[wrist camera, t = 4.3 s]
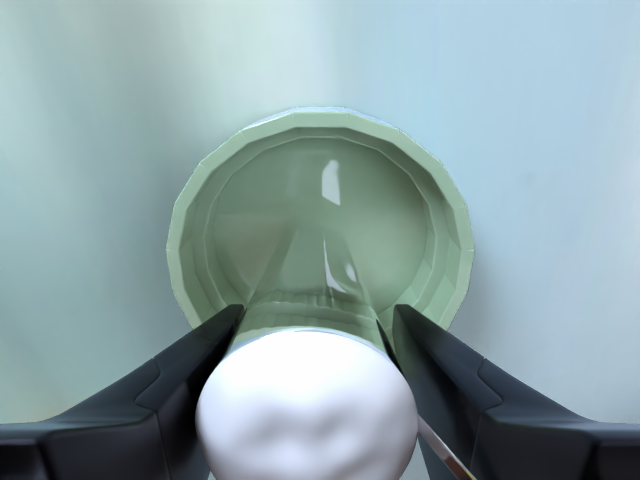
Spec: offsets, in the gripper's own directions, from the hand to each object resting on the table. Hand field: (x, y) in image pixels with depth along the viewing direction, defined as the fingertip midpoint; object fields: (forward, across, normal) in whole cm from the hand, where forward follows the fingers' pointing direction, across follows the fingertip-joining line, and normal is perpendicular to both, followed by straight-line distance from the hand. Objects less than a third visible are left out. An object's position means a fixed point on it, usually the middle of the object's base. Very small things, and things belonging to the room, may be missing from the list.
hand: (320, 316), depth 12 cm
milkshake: (+4, 0, 0) cm, 4 cm away
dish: (+6, 0, 0) cm, 6 cm away
